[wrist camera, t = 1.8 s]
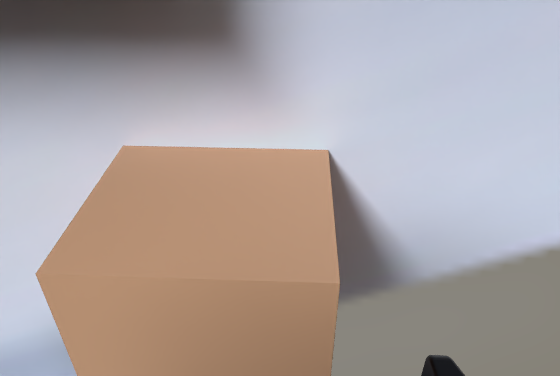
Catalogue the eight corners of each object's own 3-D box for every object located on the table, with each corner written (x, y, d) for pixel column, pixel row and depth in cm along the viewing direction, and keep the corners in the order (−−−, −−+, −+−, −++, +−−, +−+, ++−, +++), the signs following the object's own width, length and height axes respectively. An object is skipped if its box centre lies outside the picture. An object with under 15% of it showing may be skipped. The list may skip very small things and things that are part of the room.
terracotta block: (318, 292, 14) (323, 444, 10) (155, 287, 14) (101, 434, 10) (328, 147, 11) (340, 283, 7) (124, 143, 11) (35, 274, 8)
